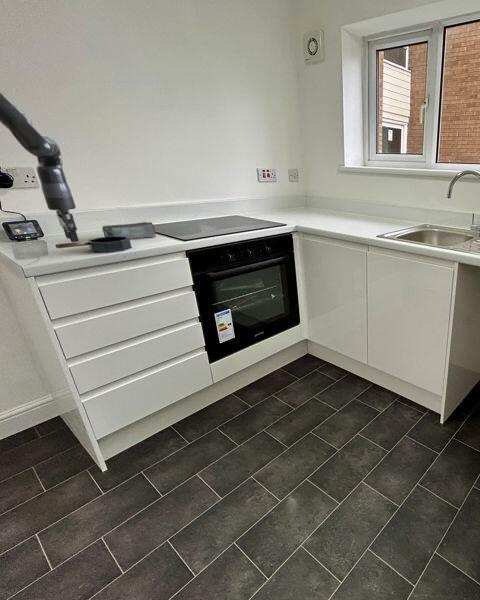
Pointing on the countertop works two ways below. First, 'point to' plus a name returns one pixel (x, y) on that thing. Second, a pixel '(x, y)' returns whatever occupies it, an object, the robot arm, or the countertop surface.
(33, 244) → the countertop surface
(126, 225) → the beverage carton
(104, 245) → the black frying pan
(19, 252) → the countertop surface
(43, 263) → the countertop surface
